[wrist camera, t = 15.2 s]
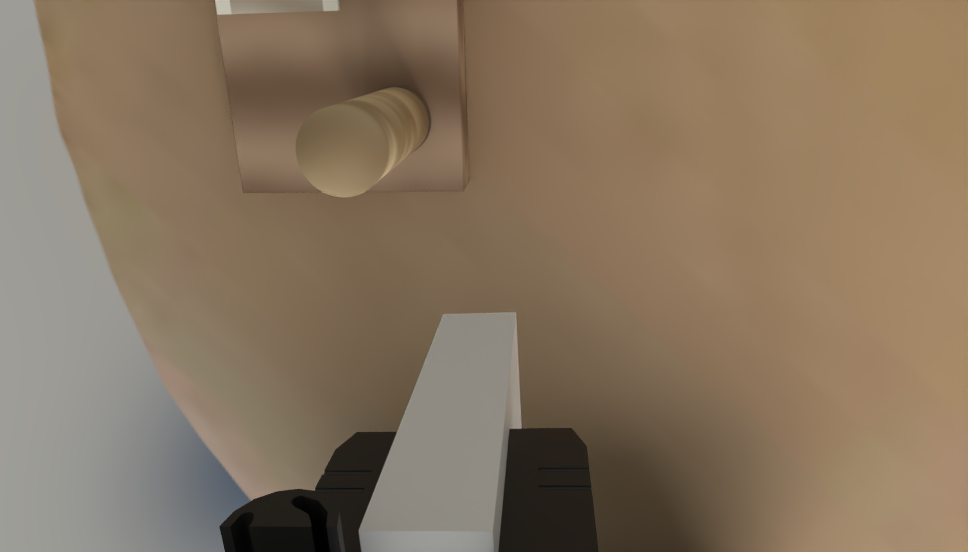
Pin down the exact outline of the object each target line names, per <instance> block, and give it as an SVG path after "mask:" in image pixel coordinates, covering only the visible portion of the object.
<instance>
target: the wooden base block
mask: <svg viewBox="0 0 968 552" xmlns="http://www.w3.org/2000/svg"><path fill="white" fill-rule="evenodd" d="M214 3H215V10H216V17H217V23H218V30H219V36H220V43H221V49H222V56H223V63H224V69H225V76H226V82H227V89H228V96H229V102H230V109H231V115H232V122H233V128H234V135H235V142H236V148H237V155H238V161H239V168H240V174H241V181H242V188H243V193H285V192H324V193H326V194H328V195H331V196H335V197H344V198H345V197H353V196H357V195H360V194H362V193H364V192H434V191H464V190H465V188H466V186H467V184H468V182H469V157H468V127H467V97H466V68H465V38H464V8H463V0H214Z"/></svg>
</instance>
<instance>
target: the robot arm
mask: <svg viewBox="0 0 968 552" xmlns="http://www.w3.org/2000/svg"><path fill="white" fill-rule="evenodd" d="M220 531H221V535H222V539H223V544H224V549H225V552H598V544H597V535H596V526H595V517H594V508H593V499H592V491H591V482H590V473H589V464H588V455H587V446H586V445H585V444H584V443H583V441H582V440H581V439H580V438H579V437H578V435H577V434H576V433H575V432H574V431H573V430H572V428H537V429H522V424H521V404H520V383H519V363H518V343H517V323H516V312H503V313H464V314H443V316H442V319H441V321H440V324H439V326H438V329H437V331H436V334H435V336H434V339H433V342H432V344H431V347H430V349H429V352H428V354H427V357H426V359H425V362H424V365H423V367H422V370H421V372H420V375H419V377H418V380H417V382H416V385H415V388H414V390H413V393H412V395H411V398H410V400H409V403H408V405H407V408H406V411H405V413H404V416H403V418H402V421H401V423H400V426H399V428H398V431H397V432H357V433H355V434H354V435H353V436H352V437H351V438H349V439H348V440H347V441H346V442H345V443H343V444H342V445H341V446H340V447H338V448H337V449H336V450H335V452H334V454H333V456H332V457H331V459H330V461H329V463H328V465H327V467H326V469H325V473H324V475H322V476H321V478H320V480H319V482H318V484H317V486H316V488H315V491H311V490H303V489H294V490H286V491H278V492H274V493H271V494H268V495H265V496H262V497H259V498H257V499H254V500H252V501H251V502H249V503H247V504H246V505H244V506H242V507H241V508H239V509H237V510H236V511H234V512H233V513H232V514H231V515H230V516H229V517H228V518H227V519H226V520H225V521H224V522H223V523H222V524H221V526H220Z"/></svg>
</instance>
